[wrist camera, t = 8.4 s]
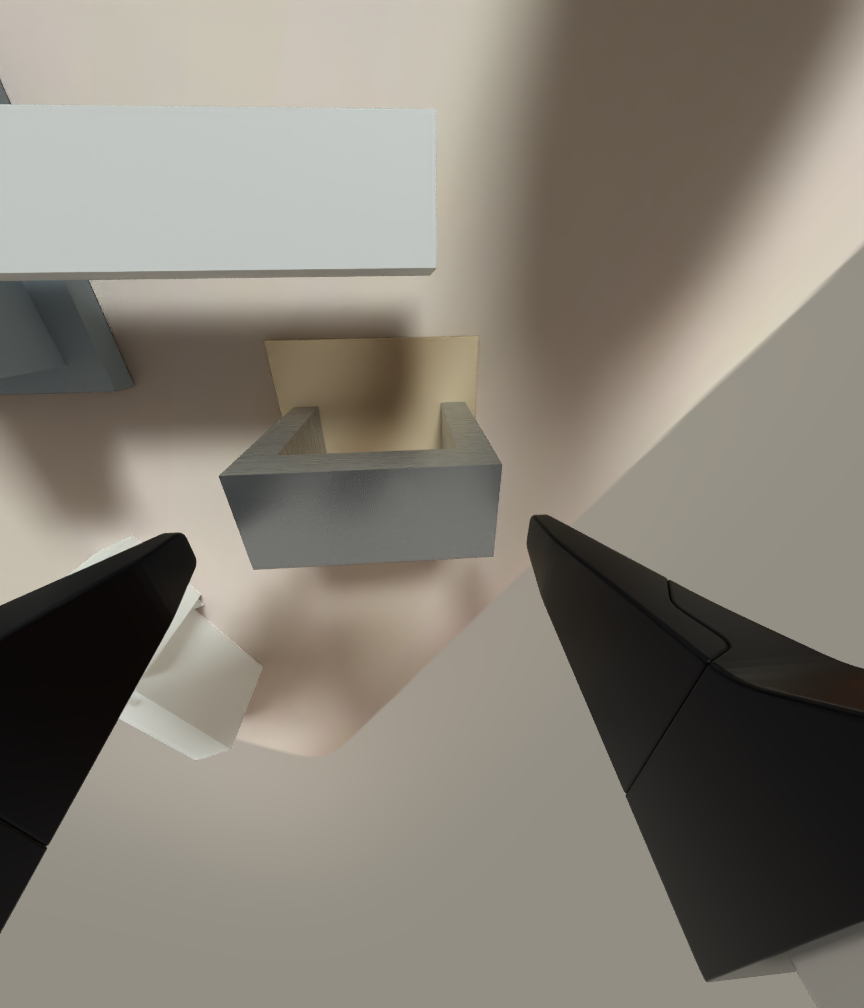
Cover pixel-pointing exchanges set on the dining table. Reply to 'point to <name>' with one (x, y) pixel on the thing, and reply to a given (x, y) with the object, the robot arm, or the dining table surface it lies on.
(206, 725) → the white stepped block
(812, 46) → the dining table surface
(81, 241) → the bar
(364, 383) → the mat
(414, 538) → the square metal frame
